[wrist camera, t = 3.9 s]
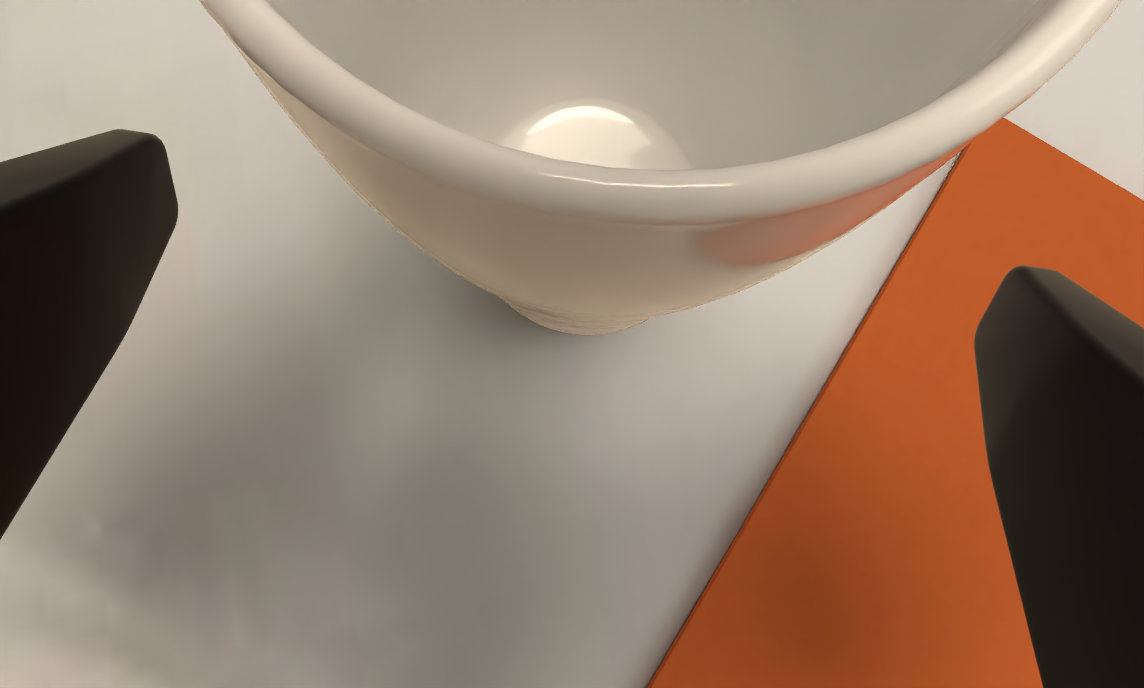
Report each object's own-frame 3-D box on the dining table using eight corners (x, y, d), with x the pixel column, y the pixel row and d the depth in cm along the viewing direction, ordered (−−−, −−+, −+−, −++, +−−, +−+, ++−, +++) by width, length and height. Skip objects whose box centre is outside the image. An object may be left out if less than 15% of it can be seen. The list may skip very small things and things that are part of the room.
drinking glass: (759, 338, 20) (1397, 108, 5) (469, 394, 19) (154, 342, 4) (700, 57, 20) (1102, -974, 5) (417, 110, 20) (-22, -796, 5)
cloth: (1009, 1287, 18) (1017, 1301, 18) (490, 953, 18) (488, 962, 18) (1471, 402, 20) (1485, 402, 19) (984, 113, 20) (990, 109, 20)
